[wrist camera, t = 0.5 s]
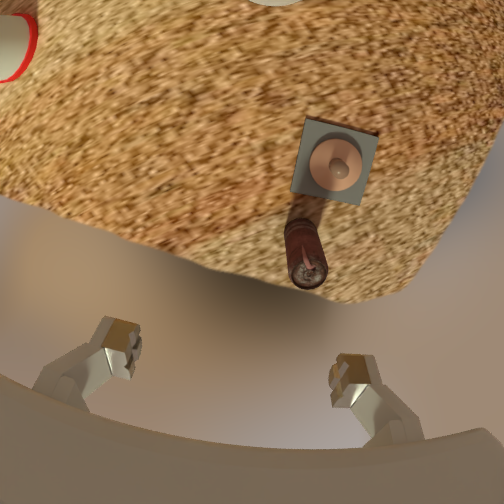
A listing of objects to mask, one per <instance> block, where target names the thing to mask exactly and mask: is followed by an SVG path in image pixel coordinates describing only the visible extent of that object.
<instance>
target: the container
mask: <svg viewBox="0 0 504 504" xmlns="http://www.w3.org/2000/svg"><path fill="white" fill-rule="evenodd" d="M37 39H38V29H37V24H36V22H35V20H34V18H33V17H31V16H30V15H29V14H20V13H15V14H12V15H0V83H5V82H10V81H13V80H15V79H16V78H18V77H19V76H20V75H21V74H22V73H23V72H24V71H25V70H26V69H27V67H28V65H29V63H30V62H31V60H32V58H33V55H34V52H35V49H36V46H37Z"/></svg>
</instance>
